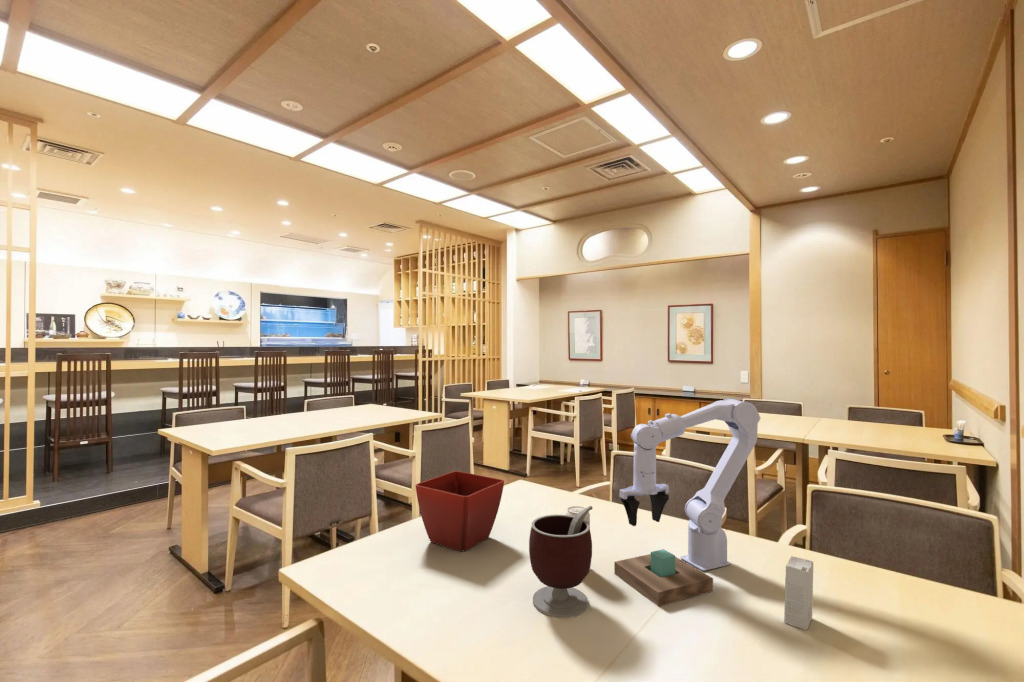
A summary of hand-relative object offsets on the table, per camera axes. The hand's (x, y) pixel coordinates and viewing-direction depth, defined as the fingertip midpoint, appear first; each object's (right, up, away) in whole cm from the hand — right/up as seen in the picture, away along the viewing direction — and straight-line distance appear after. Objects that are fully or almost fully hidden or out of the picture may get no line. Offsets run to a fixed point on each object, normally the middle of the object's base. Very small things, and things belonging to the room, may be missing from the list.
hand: (644, 522), depth 125 cm
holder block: (+1, -10, -10) cm, 15 cm away
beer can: (-18, -11, -4) cm, 21 cm away
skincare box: (+25, -11, -26) cm, 38 cm away
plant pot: (-50, -11, +14) cm, 53 cm away
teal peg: (+1, -10, -11) cm, 15 cm away
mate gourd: (-23, -10, -19) cm, 32 cm away
